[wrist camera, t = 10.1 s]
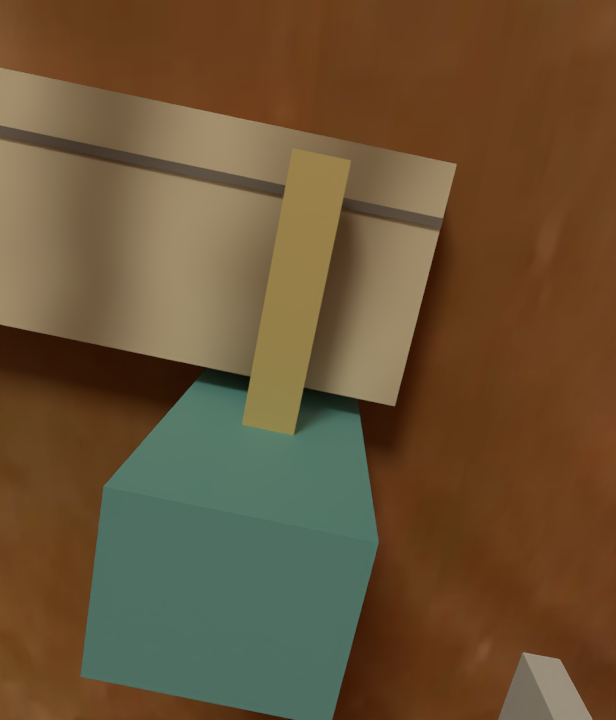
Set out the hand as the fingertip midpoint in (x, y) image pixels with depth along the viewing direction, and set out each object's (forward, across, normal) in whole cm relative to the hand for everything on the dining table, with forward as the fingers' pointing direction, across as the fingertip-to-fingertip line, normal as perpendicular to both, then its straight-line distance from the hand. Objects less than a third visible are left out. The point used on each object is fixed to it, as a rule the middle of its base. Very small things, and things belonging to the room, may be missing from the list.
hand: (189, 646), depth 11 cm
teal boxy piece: (+11, +1, +4) cm, 12 cm away
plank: (+12, -7, +7) cm, 15 cm away
